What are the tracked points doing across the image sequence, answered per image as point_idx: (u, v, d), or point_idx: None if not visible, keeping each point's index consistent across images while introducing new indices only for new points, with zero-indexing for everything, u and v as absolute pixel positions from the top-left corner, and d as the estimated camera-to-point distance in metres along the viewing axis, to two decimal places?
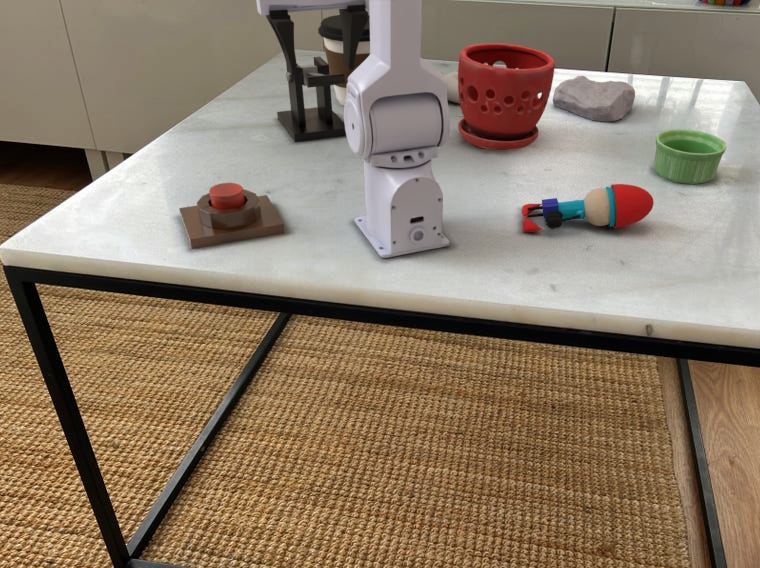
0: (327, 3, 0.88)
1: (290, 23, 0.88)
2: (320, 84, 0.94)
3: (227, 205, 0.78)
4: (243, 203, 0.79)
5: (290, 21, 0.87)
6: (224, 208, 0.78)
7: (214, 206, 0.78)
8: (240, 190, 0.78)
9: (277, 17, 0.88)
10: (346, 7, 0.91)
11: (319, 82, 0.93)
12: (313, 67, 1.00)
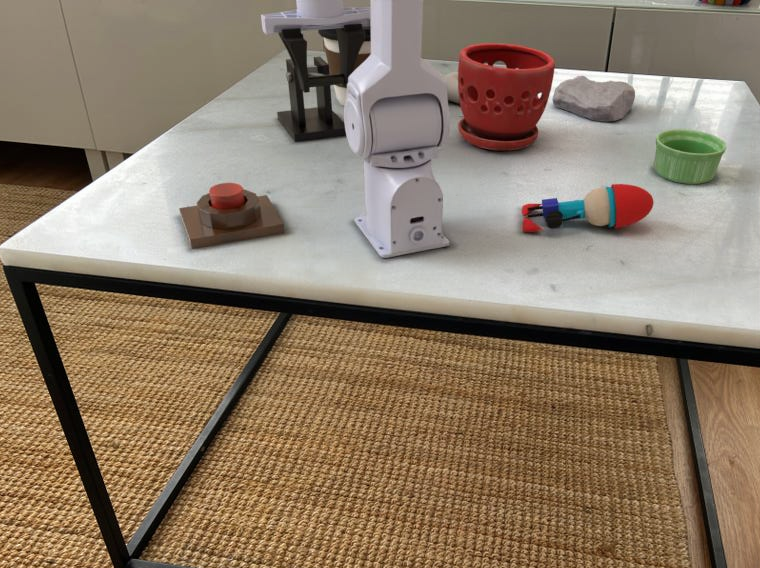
0: (332, 22, 0.88)
1: (303, 42, 0.88)
2: (320, 84, 0.94)
3: (227, 205, 0.78)
4: (243, 203, 0.79)
5: (303, 40, 0.88)
6: (224, 208, 0.78)
7: (214, 206, 0.78)
8: (240, 190, 0.78)
9: (290, 36, 0.88)
10: (343, 26, 0.91)
11: (319, 82, 0.93)
12: (313, 67, 1.00)
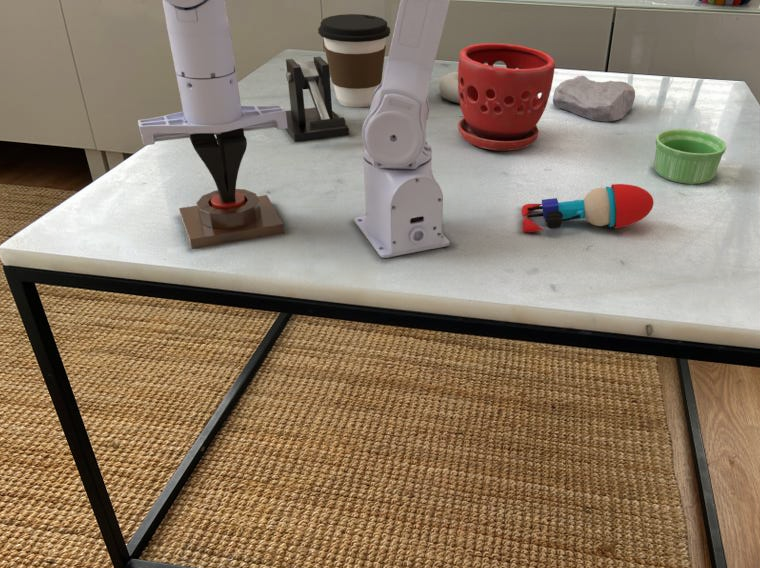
0: (225, 130, 0.72)
1: (215, 150, 0.73)
2: (321, 129, 0.99)
3: None
4: None
5: (215, 148, 0.73)
6: None
7: None
8: (242, 200, 0.79)
9: (200, 142, 0.73)
10: (219, 132, 0.74)
11: (320, 129, 0.98)
12: (315, 76, 1.00)
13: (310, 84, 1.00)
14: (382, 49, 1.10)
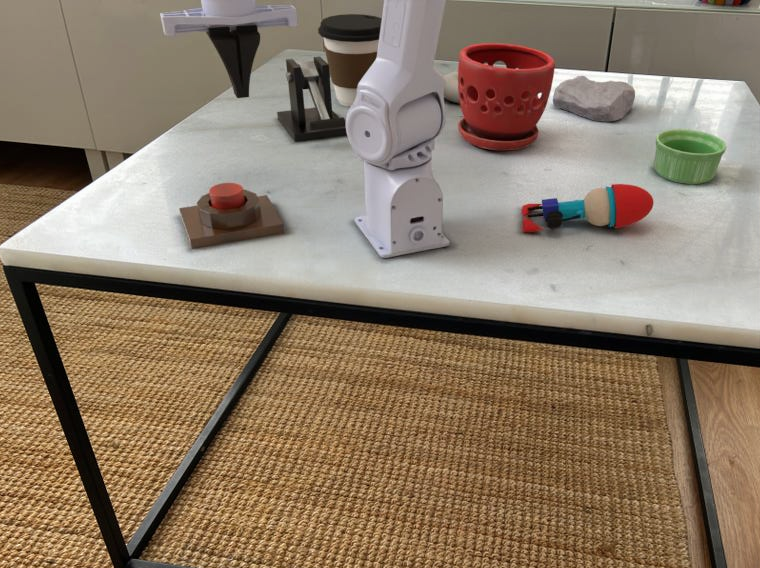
0: (241, 22, 0.78)
1: (231, 42, 0.79)
2: (321, 129, 0.99)
3: (227, 205, 0.78)
4: (243, 203, 0.79)
5: (232, 40, 0.79)
6: (224, 208, 0.78)
7: (214, 206, 0.78)
8: (240, 190, 0.78)
9: (218, 35, 0.79)
10: (235, 28, 0.80)
11: (320, 129, 0.98)
12: (315, 76, 1.00)
13: (310, 84, 1.00)
14: None
